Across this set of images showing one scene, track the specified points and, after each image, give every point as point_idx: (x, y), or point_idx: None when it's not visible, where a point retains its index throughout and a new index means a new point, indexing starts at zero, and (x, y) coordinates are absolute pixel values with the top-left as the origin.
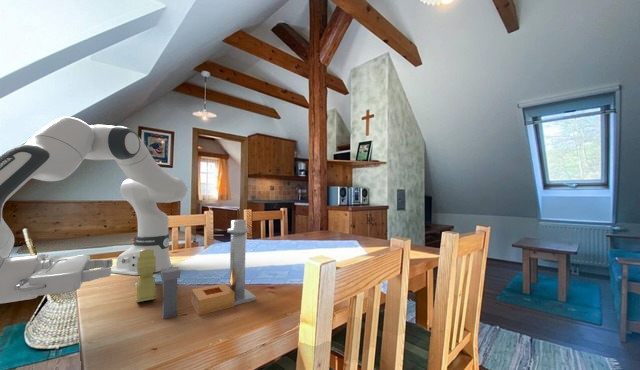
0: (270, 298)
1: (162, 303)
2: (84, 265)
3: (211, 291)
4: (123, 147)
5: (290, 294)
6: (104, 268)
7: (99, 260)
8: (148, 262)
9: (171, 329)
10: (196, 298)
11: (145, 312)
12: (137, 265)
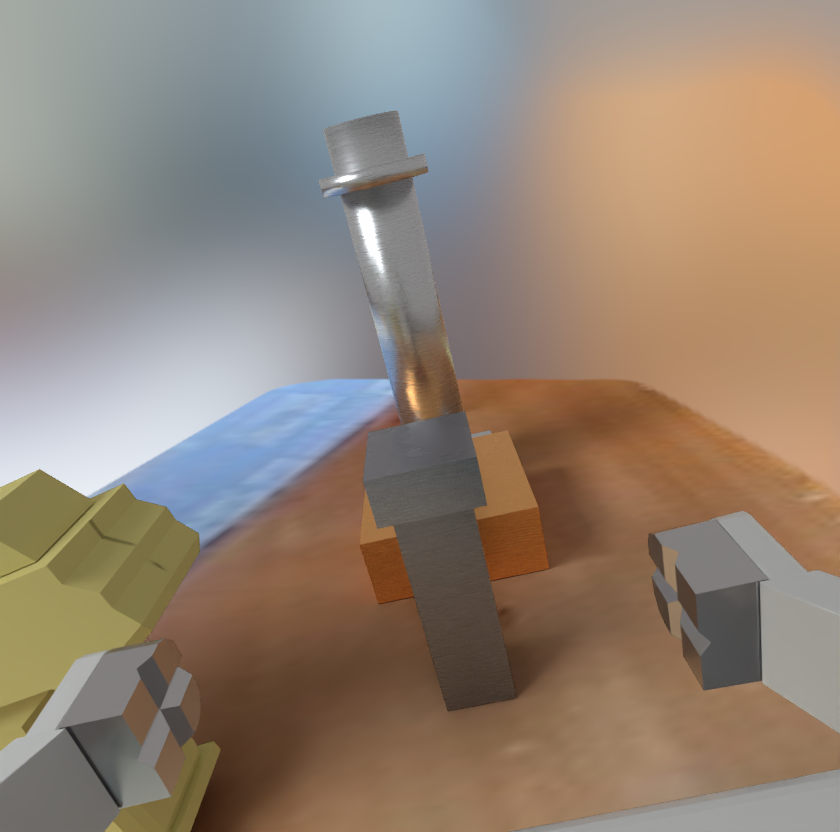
0: (502, 417)
1: (438, 657)
2: (643, 806)
3: None
4: None
5: (499, 387)
6: (739, 550)
7: (2, 789)
8: (148, 543)
9: (669, 650)
10: (482, 526)
11: (345, 809)
12: (118, 610)
